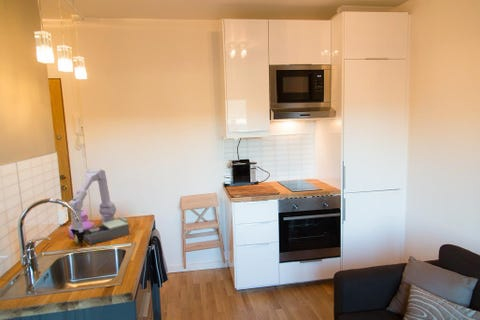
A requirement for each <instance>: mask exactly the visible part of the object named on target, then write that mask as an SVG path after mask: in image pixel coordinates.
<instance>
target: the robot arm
mask: <svg viewBox="0 0 480 320" xmlns="http://www.w3.org/2000/svg"><path fill="white" fill-rule="evenodd" d="M106 176H107V175H106V171H105V170H104V169H101V168H100V169H92V168H90V169H88V170H87V171H86V173H85V179H84V181H83V183H82V185H81V188H80V189H77V191H76V193H75V195H74V196H73V198H72V199H71V200H69V201H68V202H67V205H68V204H69V205H71V206H72V207H73V209H74V210H75V212H76V214H77V216H78V218H79V222H76V221H75V220H74V218H73V215H72V213H71V212H70V211H69V210H68V211H69V213H70V220H71V225H72V227H71V228H70V230H71V231H72V233H73V235H74V238H75V234H76V236H77V239H78V242H79V243H81V242H84V239H83V238H84V234H85V230H84V231H83V225H82V216H81V210H82V209H83V205H84V204H83V203H84V200H85V198H86V197H87V195H88V193H87V191H88V189H89V187H90V186H91V185H92V184H93V182H95V181H97V183H98V191H99V195H100V200H101V203H100V204H99V209H98V210H99V214H100V215H101V224H102V223H105V222H109V221H113V220H115V214H116V213H117V207H116V206H115V203H114V202H112V201H111V198H110V197H111V196H110V192H109V186H108V181H107V177H106Z"/></svg>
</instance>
